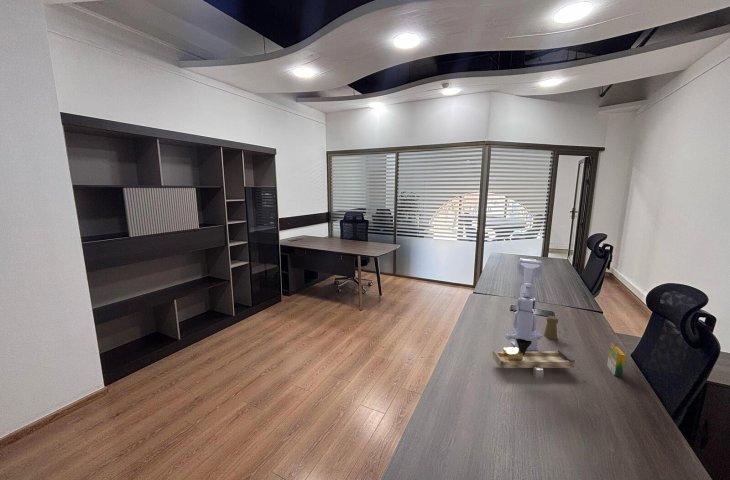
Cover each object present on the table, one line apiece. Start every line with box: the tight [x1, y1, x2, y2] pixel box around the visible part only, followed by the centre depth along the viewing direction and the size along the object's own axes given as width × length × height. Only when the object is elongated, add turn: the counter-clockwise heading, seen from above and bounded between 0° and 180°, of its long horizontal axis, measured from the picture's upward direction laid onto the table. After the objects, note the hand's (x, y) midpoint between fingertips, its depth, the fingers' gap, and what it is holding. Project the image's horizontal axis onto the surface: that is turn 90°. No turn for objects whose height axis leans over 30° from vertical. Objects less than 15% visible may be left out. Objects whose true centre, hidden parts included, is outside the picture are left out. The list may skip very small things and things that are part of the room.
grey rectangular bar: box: [532, 367, 545, 379], centre depth 127 cm, size 3×14×4 cm, turn 179°
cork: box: [543, 315, 559, 340], centre depth 154 cm, size 6×6×11 cm
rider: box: [502, 346, 523, 361], centre depth 127 cm, size 6×5×4 cm
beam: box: [491, 349, 576, 369], centre depth 127 cm, size 31×9×4 cm, turn 89°
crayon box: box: [606, 342, 626, 378], centre depth 124 cm, size 7×3×12 cm, turn 160°
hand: (521, 354), depth 126 cm, fingers closed
